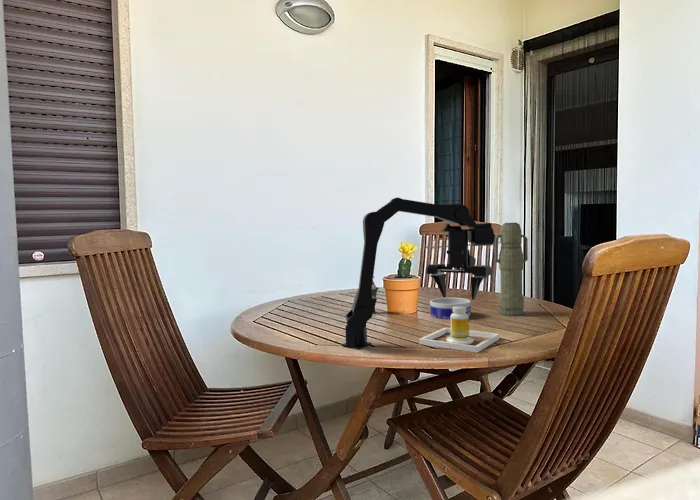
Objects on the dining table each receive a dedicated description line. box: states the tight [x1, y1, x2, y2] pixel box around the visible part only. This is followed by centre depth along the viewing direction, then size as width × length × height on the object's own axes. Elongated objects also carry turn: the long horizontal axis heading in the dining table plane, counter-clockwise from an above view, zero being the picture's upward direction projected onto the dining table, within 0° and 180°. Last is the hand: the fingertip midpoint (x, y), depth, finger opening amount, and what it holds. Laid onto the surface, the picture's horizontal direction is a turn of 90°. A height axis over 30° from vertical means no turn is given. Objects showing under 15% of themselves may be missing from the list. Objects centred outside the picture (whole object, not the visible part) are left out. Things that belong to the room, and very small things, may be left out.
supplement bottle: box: [450, 306, 470, 341], centre depth 142 cm, size 5×5×10 cm
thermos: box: [494, 222, 529, 317], centre depth 181 cm, size 9×12×35 cm
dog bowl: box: [429, 297, 472, 320], centre depth 182 cm, size 15×15×6 cm
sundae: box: [372, 275, 380, 315], centre depth 191 cm, size 7×7×15 cm
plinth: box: [445, 335, 475, 345], centre depth 142 cm, size 8×8×1 cm
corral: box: [418, 327, 501, 353], centre depth 142 cm, size 18×18×2 cm
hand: (458, 298), depth 142 cm, fingers open, 9 cm apart
